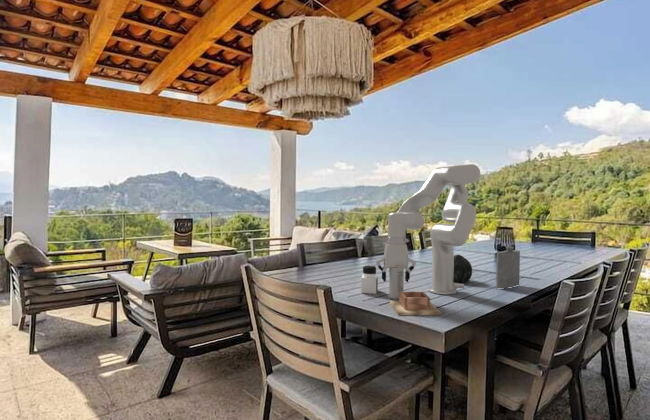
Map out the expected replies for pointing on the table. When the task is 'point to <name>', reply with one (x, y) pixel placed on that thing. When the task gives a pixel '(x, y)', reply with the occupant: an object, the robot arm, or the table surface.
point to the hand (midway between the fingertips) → (395, 281)
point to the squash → (461, 269)
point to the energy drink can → (395, 282)
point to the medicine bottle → (369, 280)
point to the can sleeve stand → (414, 304)
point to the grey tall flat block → (508, 268)
